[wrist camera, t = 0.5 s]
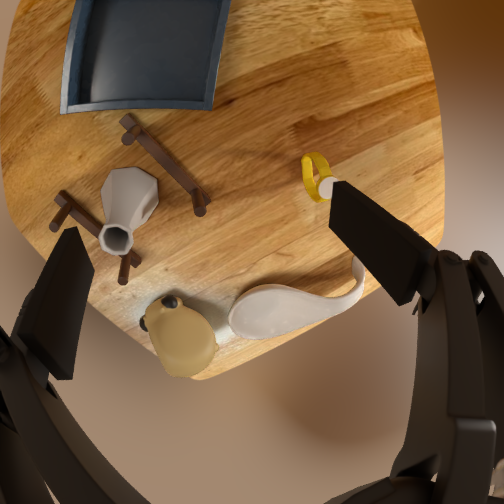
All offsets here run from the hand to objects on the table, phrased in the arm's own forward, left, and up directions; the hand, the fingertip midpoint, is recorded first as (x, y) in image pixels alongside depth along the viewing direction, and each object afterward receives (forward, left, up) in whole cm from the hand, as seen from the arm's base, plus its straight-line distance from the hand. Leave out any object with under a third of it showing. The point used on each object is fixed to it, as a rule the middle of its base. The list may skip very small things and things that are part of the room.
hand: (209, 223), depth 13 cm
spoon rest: (+28, -2, -19) cm, 34 cm away
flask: (0, -9, -19) cm, 21 cm away
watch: (+12, +9, -19) cm, 24 cm away
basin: (-12, +4, -19) cm, 23 cm away
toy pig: (+18, -19, -19) cm, 32 cm away
